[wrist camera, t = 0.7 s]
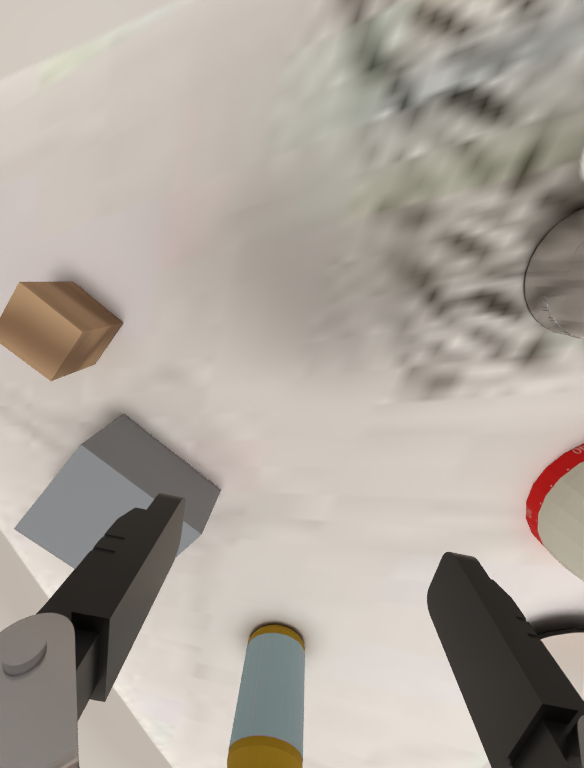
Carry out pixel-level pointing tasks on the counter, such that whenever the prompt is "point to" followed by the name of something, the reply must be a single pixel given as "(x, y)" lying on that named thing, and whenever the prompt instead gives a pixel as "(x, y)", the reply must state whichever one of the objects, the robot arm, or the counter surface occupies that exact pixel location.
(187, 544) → the gray square block
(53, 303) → the walnut cube
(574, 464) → the kitchen timer
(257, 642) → the bottle
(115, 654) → the robot arm
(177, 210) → the counter surface
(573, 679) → the milk container
